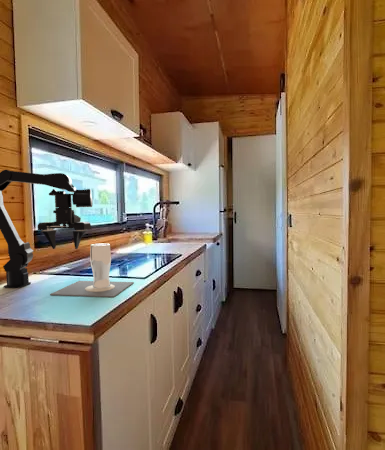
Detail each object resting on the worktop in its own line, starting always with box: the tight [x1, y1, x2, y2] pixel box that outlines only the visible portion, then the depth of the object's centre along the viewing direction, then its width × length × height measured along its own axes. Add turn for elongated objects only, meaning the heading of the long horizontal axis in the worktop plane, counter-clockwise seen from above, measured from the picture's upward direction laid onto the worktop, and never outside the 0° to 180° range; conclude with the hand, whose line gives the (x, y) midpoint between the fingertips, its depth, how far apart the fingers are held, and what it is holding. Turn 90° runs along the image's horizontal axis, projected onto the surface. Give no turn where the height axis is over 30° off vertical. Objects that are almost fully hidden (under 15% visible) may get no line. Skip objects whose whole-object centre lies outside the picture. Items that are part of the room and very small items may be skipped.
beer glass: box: [89, 242, 112, 289], centre depth 106 cm, size 7×7×15 cm
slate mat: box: [49, 280, 134, 298], centre depth 106 cm, size 22×18×1 cm
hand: (65, 248), depth 115 cm, fingers open, 9 cm apart
